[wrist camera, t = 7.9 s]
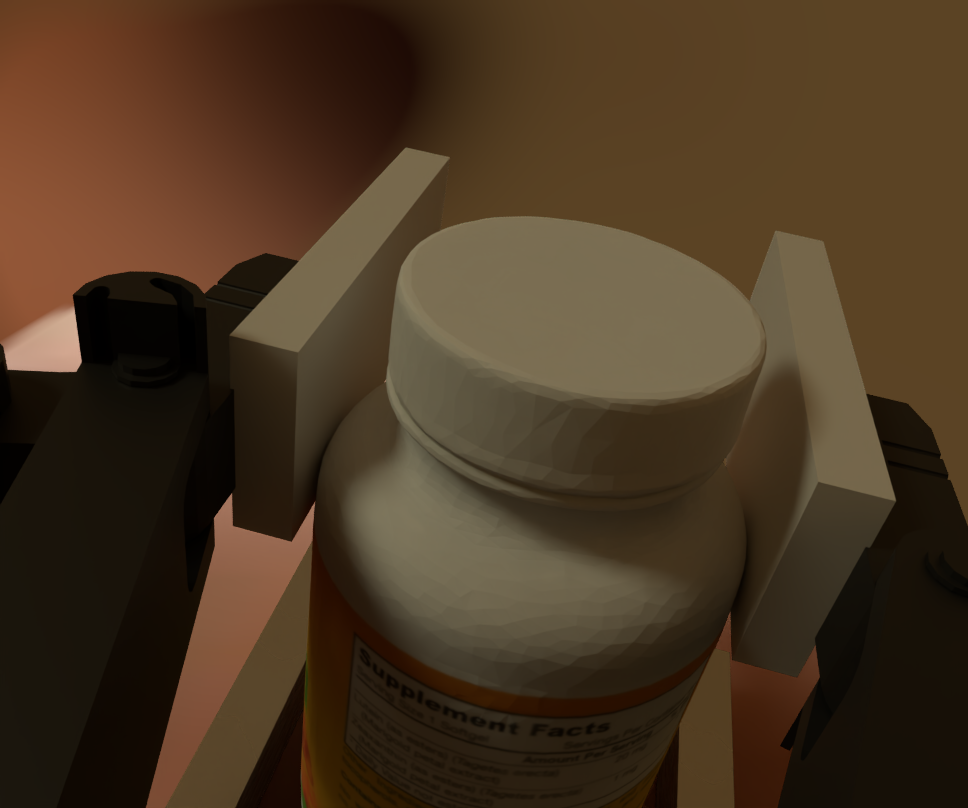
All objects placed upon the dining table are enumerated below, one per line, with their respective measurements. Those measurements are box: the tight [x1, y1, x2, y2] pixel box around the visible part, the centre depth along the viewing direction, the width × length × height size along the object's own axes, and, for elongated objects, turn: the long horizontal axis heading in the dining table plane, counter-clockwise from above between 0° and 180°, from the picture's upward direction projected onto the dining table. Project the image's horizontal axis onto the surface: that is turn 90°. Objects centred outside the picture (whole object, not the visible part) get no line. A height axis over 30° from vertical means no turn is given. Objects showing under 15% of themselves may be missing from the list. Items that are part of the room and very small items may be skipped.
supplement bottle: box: [301, 216, 767, 808], centre depth 12 cm, size 5×5×10 cm
